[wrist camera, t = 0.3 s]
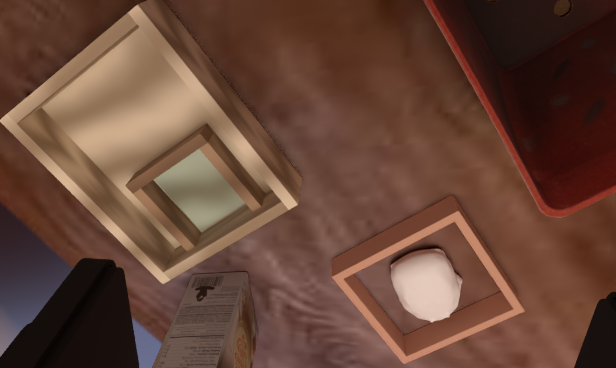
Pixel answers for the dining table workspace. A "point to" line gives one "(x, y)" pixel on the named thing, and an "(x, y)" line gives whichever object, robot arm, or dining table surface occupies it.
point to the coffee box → (212, 325)
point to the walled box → (156, 143)
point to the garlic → (426, 284)
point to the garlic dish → (440, 330)
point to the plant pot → (544, 90)
